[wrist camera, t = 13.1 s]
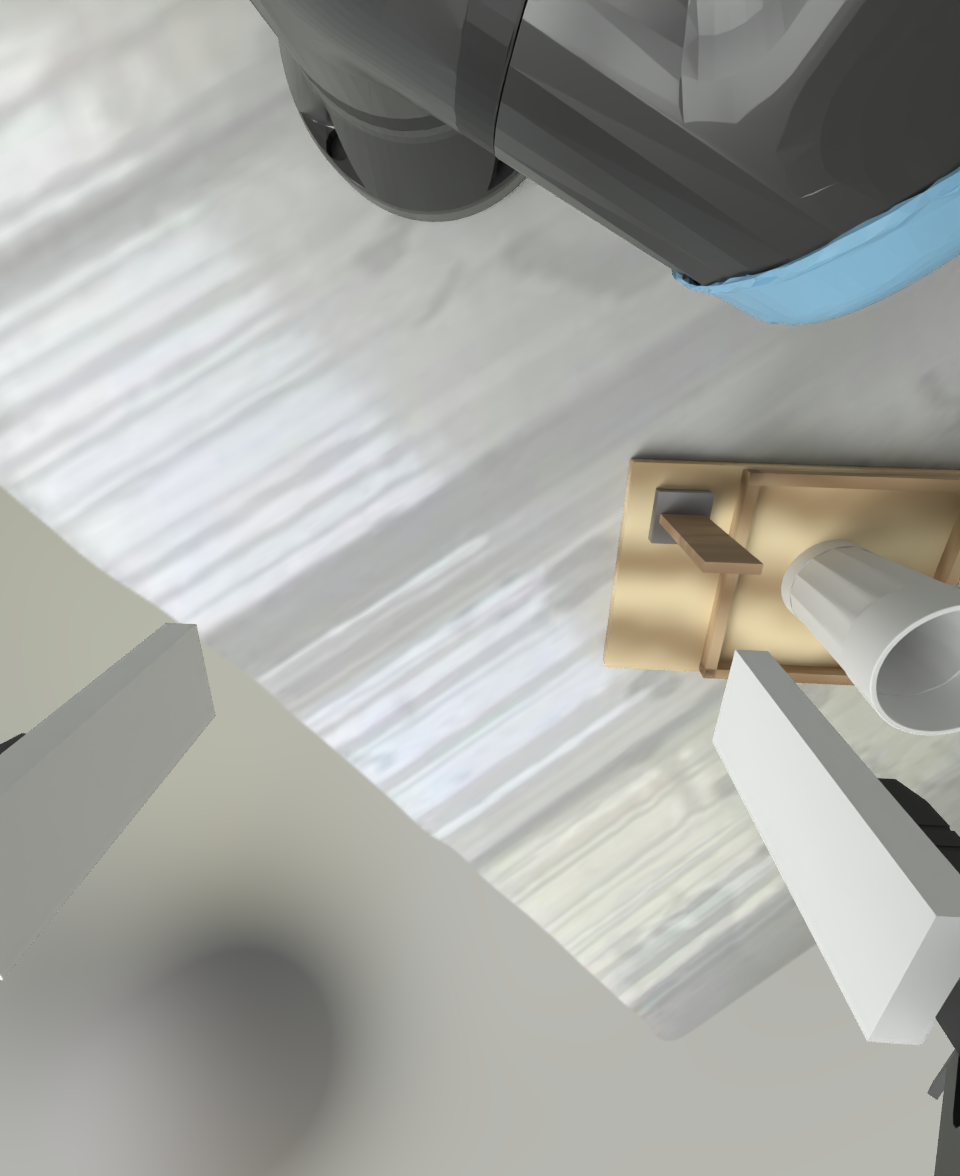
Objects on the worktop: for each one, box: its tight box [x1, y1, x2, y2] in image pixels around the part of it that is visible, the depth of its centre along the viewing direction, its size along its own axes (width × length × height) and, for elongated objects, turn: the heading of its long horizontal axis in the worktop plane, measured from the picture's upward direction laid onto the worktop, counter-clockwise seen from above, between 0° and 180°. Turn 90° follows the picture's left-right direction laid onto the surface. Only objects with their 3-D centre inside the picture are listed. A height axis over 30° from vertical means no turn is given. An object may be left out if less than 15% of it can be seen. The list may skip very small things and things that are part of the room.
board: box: [603, 459, 960, 685], centre depth 35 cm, size 16×23×11 cm
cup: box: [781, 540, 960, 735], centre depth 33 cm, size 8×8×12 cm
